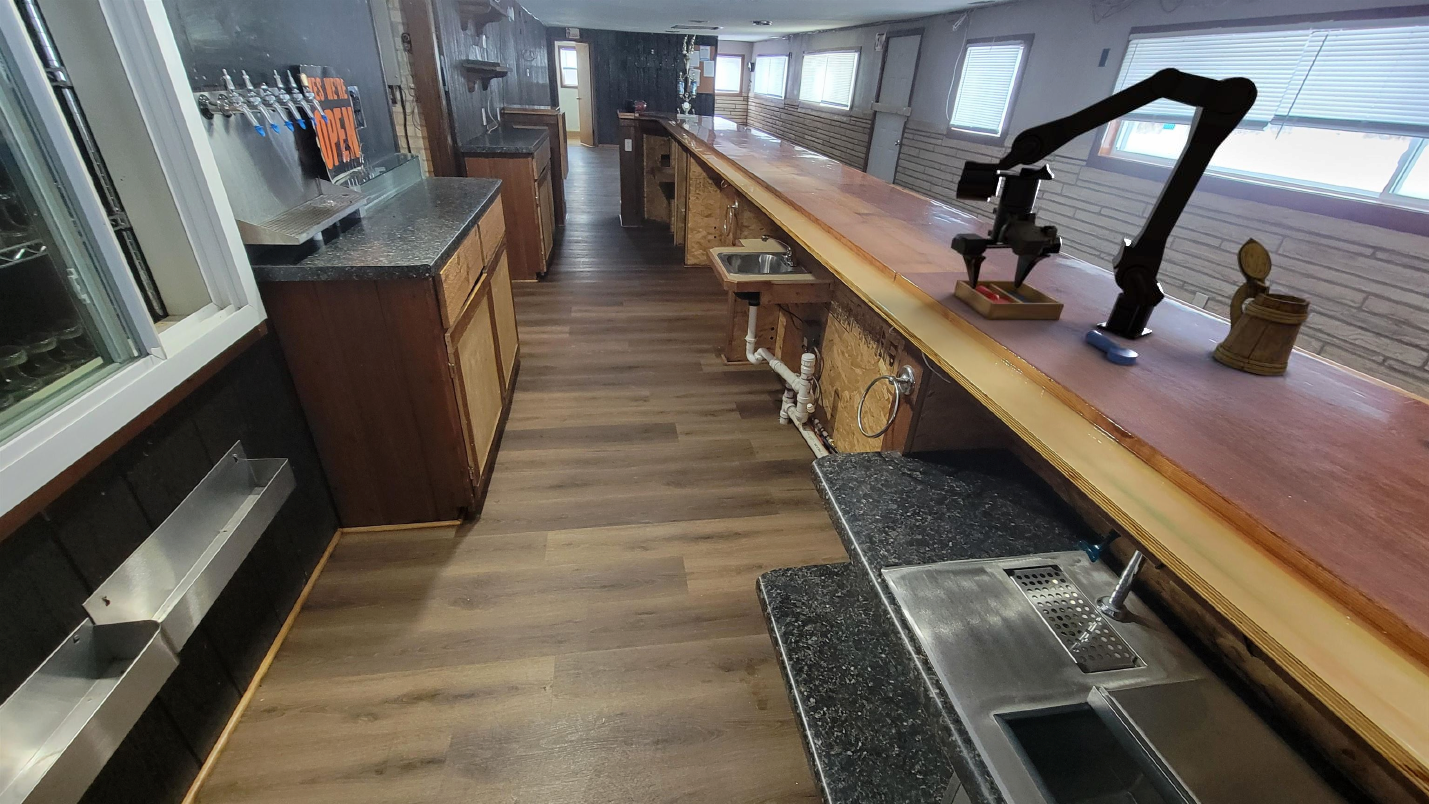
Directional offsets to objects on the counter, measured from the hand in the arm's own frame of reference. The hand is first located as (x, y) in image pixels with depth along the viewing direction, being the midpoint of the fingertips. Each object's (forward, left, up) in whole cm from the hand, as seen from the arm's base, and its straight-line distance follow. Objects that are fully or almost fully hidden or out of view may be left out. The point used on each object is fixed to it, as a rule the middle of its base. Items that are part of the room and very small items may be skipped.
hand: (994, 288), depth 109 cm
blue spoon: (+2, +24, -3) cm, 24 cm away
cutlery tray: (-2, +2, -3) cm, 4 cm away
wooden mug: (-16, +35, -4) cm, 38 cm away
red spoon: (+1, 0, -3) cm, 3 cm away
